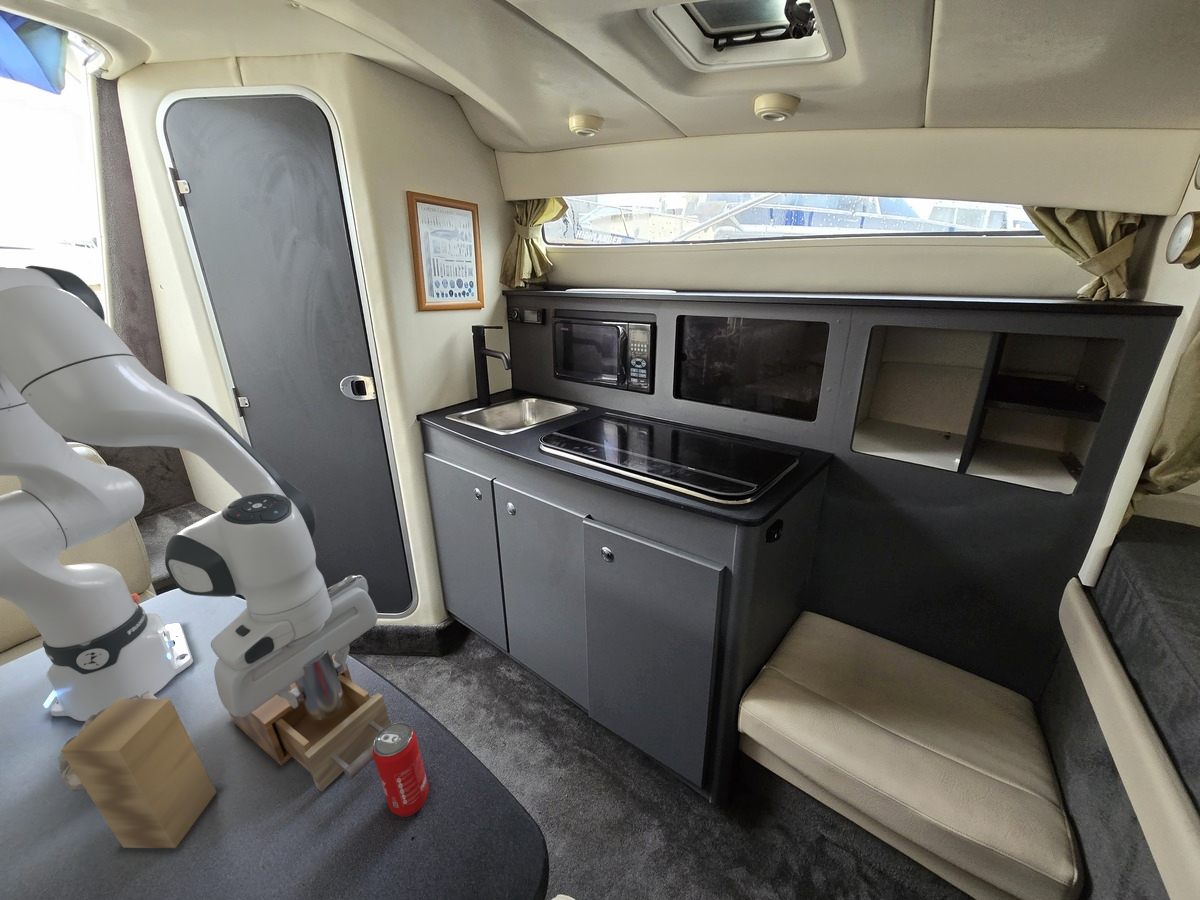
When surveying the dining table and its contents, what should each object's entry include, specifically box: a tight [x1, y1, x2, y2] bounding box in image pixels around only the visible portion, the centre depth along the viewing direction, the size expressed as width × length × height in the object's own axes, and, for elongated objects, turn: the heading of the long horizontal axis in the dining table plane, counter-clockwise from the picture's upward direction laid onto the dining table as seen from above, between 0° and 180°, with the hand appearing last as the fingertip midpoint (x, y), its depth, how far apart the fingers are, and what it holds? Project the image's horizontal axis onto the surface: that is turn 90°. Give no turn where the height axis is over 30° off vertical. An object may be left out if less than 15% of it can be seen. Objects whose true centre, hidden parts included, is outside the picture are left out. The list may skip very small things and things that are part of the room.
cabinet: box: [228, 654, 353, 766], centre depth 79 cm, size 15×13×9 cm
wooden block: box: [60, 698, 217, 849], centre depth 63 cm, size 7×7×18 cm
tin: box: [295, 649, 345, 720], centre depth 70 cm, size 5×5×10 cm
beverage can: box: [373, 721, 429, 818], centre depth 65 cm, size 5×5×12 cm
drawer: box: [272, 674, 392, 792], centre depth 73 cm, size 18×11×7 cm, turn 59°
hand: (319, 687), depth 71 cm, fingers closed on tin, 5 cm apart
